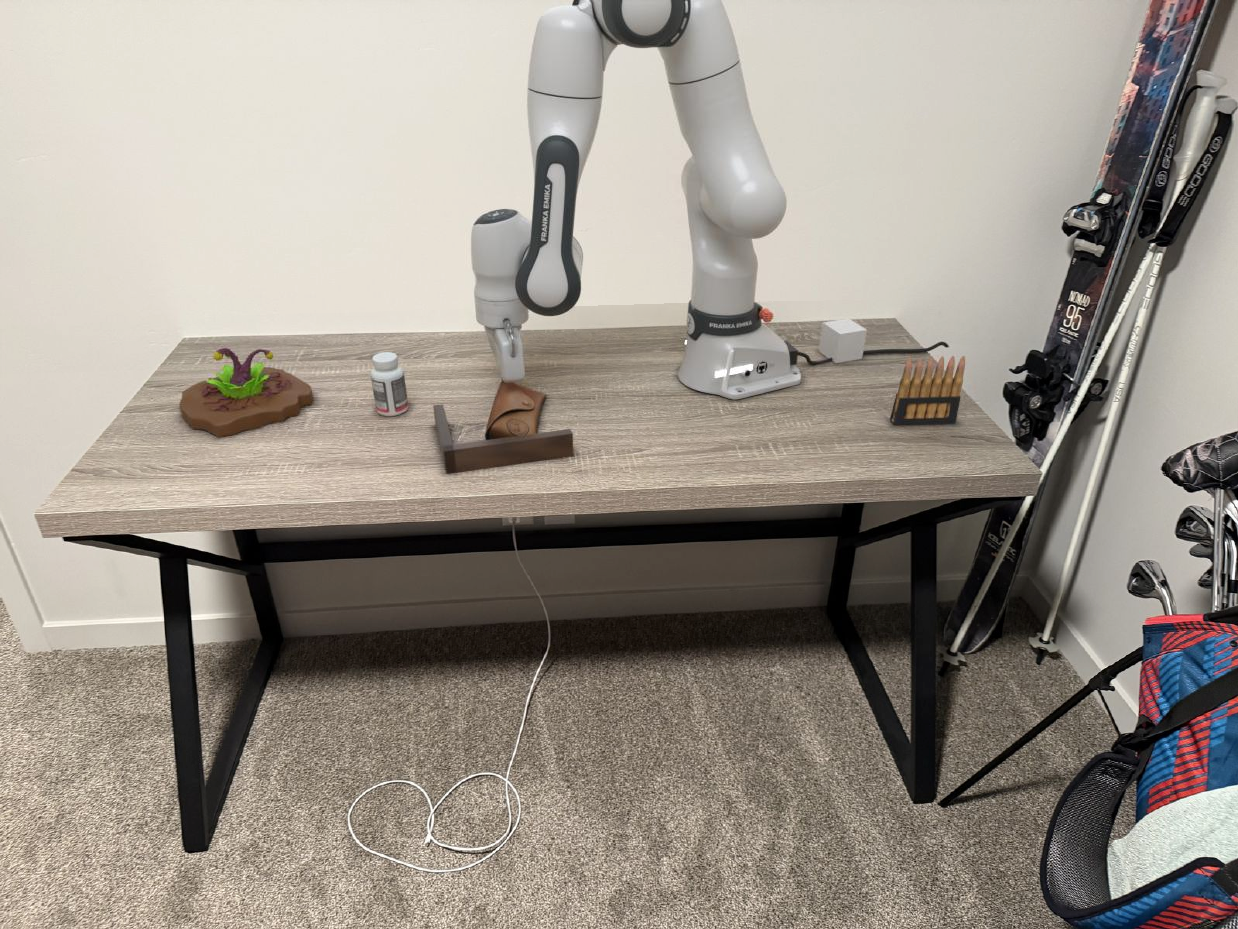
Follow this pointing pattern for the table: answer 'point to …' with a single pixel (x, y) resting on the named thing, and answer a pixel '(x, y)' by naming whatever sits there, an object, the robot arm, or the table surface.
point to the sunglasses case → (514, 411)
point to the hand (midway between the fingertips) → (506, 383)
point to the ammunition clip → (928, 394)
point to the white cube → (842, 340)
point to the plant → (243, 397)
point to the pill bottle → (388, 385)
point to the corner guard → (499, 448)
